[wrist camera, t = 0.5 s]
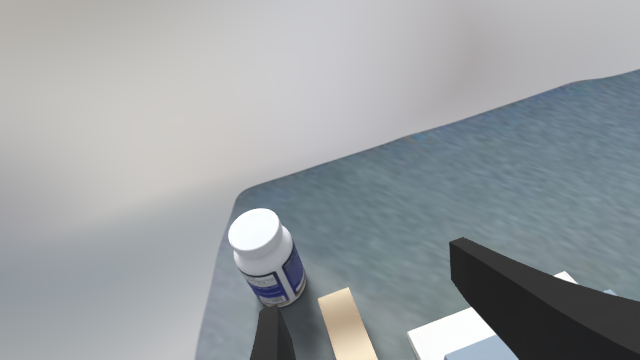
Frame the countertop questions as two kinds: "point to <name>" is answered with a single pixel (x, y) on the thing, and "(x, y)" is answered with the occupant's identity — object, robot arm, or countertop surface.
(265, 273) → the pill bottle
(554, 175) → the countertop surface
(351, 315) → the beam
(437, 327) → the ridge stand
